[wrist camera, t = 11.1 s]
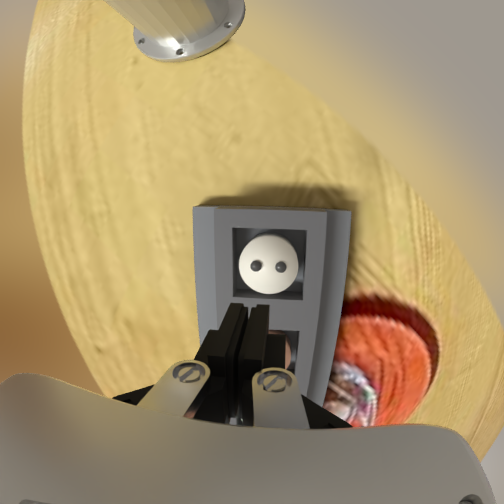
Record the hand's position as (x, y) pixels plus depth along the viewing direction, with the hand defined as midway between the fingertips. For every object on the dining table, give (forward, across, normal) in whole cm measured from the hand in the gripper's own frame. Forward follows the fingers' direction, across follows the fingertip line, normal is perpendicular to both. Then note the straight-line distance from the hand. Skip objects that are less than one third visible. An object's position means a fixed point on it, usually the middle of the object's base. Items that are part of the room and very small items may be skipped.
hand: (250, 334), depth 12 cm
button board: (+15, 0, +9) cm, 17 cm away
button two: (+13, 0, 0) cm, 13 cm away
